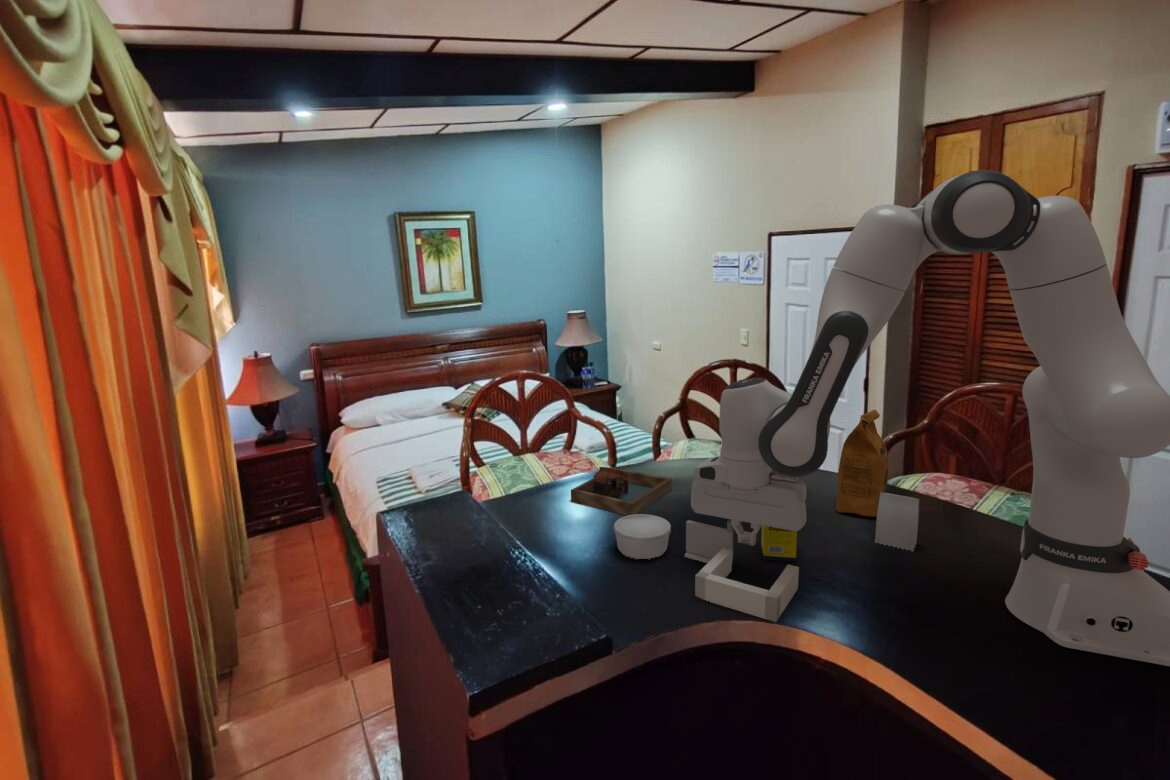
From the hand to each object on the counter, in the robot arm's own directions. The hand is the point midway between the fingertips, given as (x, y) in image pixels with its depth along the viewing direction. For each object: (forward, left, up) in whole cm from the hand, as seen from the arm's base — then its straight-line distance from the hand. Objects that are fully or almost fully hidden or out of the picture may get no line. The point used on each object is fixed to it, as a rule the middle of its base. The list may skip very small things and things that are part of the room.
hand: (746, 543), depth 109 cm
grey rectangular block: (-21, -25, -6) cm, 33 cm away
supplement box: (-3, -9, -6) cm, 11 cm away
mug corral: (+38, -19, -5) cm, 43 cm away
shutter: (+7, 0, -4) cm, 8 cm away
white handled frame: (+1, +6, -5) cm, 8 cm away
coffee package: (-12, -40, -6) cm, 42 cm away
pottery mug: (+40, -18, -6) cm, 44 cm away
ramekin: (+20, +3, -6) cm, 21 cm away
